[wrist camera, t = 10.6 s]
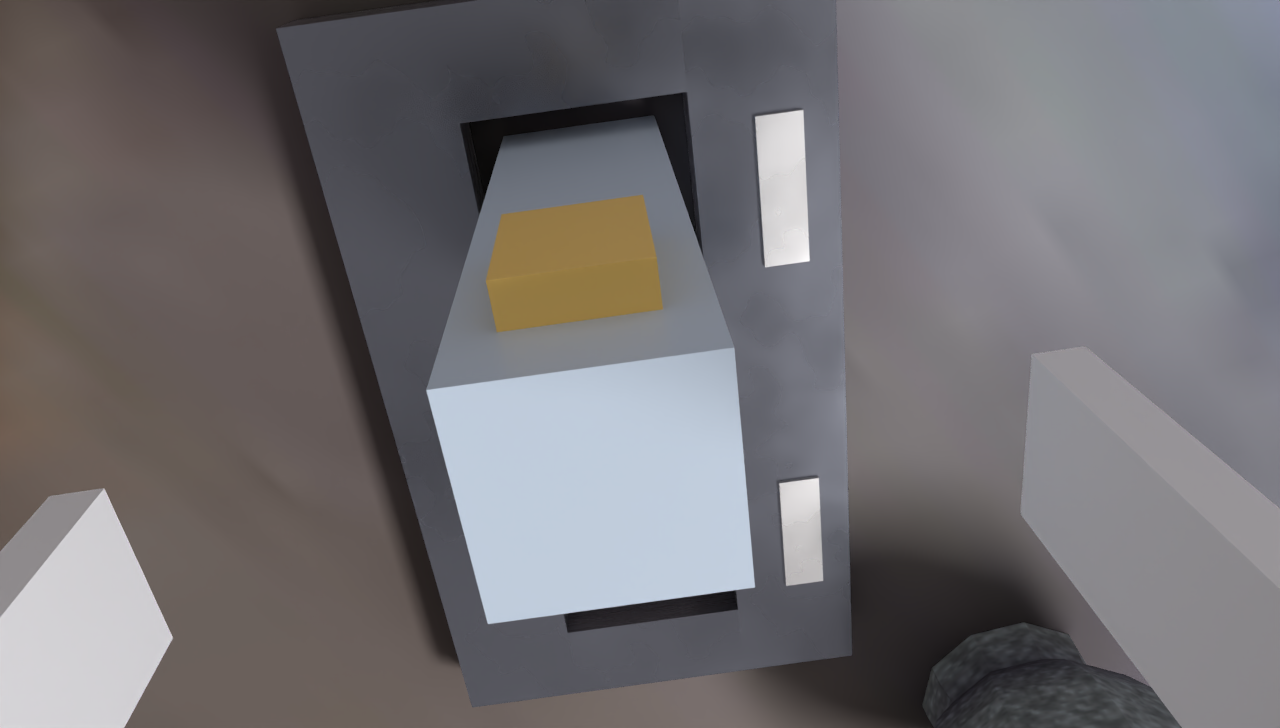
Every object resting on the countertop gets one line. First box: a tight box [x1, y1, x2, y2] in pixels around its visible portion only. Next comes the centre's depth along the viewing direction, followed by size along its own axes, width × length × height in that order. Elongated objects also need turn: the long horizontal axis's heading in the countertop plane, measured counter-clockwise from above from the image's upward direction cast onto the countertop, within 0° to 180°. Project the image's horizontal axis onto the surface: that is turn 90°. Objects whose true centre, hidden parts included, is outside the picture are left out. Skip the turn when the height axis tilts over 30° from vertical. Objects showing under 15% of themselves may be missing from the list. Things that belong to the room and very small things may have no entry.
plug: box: [426, 115, 755, 624], centre depth 19 cm, size 4×5×14 cm
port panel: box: [276, 0, 852, 707], centre depth 27 cm, size 22×13×2 cm, turn 7°
